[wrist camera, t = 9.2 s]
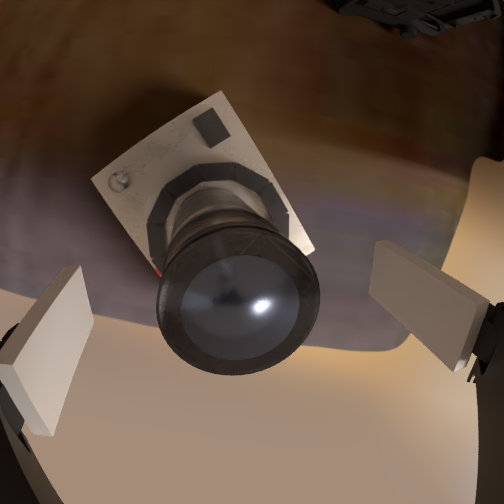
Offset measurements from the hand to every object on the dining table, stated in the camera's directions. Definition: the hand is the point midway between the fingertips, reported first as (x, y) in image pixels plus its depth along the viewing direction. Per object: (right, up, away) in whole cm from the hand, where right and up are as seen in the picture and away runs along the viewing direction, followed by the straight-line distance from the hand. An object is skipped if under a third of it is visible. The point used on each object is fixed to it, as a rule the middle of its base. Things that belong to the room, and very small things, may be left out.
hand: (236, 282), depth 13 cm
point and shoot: (-4, +6, +14) cm, 15 cm away
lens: (-2, +3, +10) cm, 10 cm away
